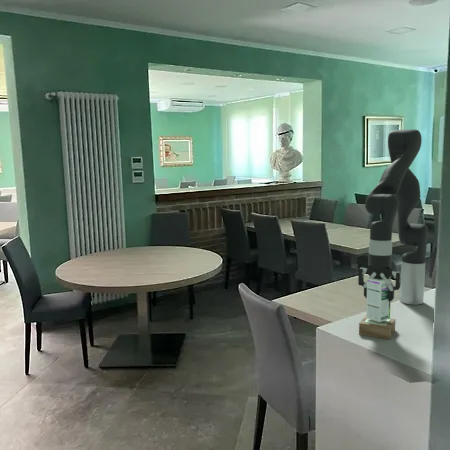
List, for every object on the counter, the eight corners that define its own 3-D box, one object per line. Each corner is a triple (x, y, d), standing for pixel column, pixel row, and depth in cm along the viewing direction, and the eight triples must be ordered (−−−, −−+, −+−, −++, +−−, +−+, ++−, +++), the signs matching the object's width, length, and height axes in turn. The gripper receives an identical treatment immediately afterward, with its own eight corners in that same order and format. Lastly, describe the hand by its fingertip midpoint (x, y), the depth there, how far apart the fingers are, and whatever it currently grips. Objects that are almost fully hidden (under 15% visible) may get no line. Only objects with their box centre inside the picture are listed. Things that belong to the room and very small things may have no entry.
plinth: (366, 325, 168) (366, 314, 168) (395, 330, 163) (395, 318, 163) (358, 334, 160) (359, 322, 159) (389, 339, 155) (389, 327, 154)
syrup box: (380, 322, 157) (381, 281, 155) (365, 318, 162) (366, 277, 160) (390, 319, 160) (391, 278, 158) (375, 314, 165) (377, 275, 163)
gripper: (404, 252, 157) (402, 299, 160) (361, 248, 165) (360, 293, 167) (400, 256, 151) (398, 305, 153) (356, 252, 158) (354, 299, 160)
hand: (378, 299), depth 160 cm, fingers closed on syrup box, 7 cm apart
